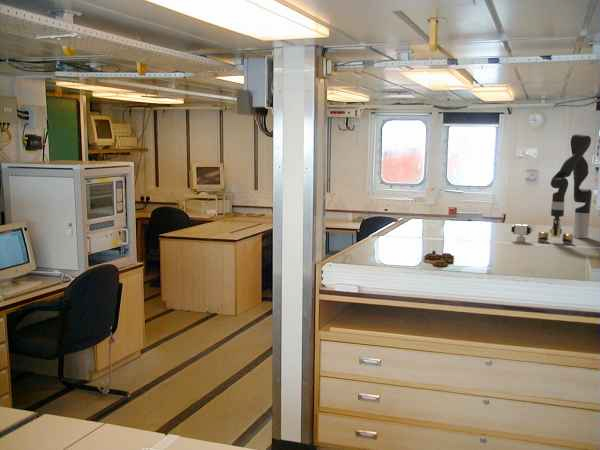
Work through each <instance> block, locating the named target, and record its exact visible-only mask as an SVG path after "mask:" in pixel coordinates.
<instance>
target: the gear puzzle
mask: <svg viewBox="0 0 600 450" xmlns="http://www.w3.org/2000/svg"><path fill="white" fill-rule="evenodd" d="M423 257H424V258H423V261H422V262H423V263H425V264H430V265H433V266H438V267H448V266H449V265H454V263H455V258H454V257H455V256H454V255H452V253H449V252H448V253H447V252H443V253H442V254H438V253H437V252H436V250H432V251H431V252H429V253H427V254H425V255H424V256H423Z"/></svg>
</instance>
